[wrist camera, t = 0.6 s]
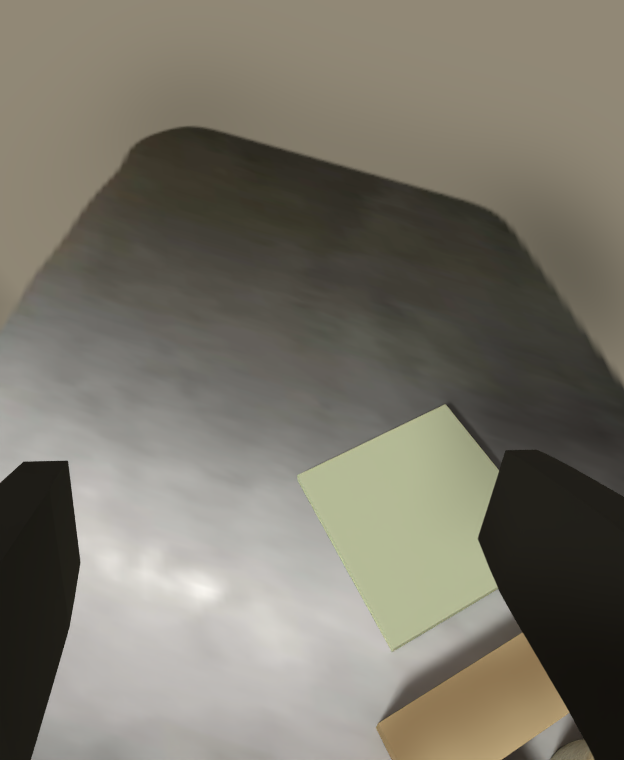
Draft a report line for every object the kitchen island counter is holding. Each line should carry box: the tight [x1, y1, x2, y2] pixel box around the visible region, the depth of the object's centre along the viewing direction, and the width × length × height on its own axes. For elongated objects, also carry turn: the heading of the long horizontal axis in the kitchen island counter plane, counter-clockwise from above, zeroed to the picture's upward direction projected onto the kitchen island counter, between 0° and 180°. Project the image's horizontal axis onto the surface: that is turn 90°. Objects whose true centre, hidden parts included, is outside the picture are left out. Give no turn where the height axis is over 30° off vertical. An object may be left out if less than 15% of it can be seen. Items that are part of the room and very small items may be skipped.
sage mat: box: [297, 404, 499, 652], centre depth 26 cm, size 9×9×1 cm
